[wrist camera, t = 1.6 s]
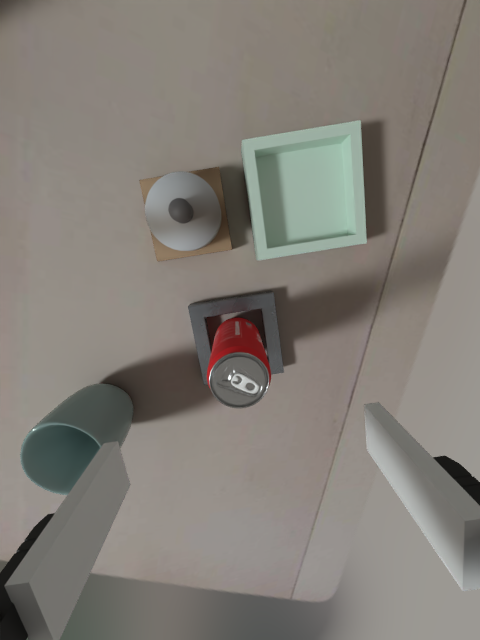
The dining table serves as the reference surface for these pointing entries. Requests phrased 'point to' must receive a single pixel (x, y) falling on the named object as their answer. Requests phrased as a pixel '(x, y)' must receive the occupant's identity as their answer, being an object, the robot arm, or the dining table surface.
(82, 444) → the cup
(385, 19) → the dining table surface
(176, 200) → the service bell
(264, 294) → the frame
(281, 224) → the tray
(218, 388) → the beverage can
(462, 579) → the robot arm
